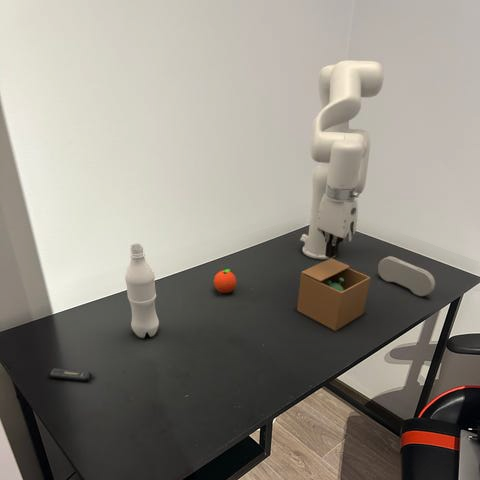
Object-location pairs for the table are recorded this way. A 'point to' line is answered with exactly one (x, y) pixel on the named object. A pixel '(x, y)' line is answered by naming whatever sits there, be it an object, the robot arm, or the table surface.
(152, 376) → the table surface
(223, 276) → the clementine
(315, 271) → the flap
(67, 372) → the usb stick
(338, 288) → the alien toy
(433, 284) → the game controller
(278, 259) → the table surface
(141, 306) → the water bottle
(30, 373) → the table surface
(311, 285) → the carton
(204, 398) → the table surface
